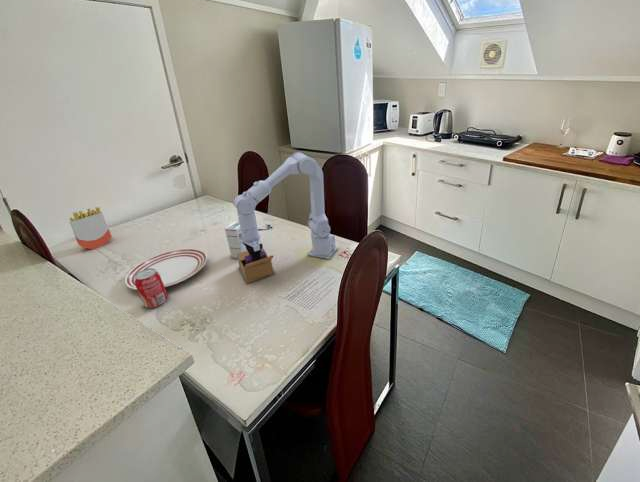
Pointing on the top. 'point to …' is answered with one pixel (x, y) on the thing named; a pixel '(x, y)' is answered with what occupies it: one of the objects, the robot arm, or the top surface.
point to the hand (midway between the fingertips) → (255, 258)
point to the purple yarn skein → (249, 258)
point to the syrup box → (234, 239)
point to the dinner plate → (171, 266)
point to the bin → (254, 268)
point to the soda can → (150, 287)
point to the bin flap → (258, 262)
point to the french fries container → (90, 229)
